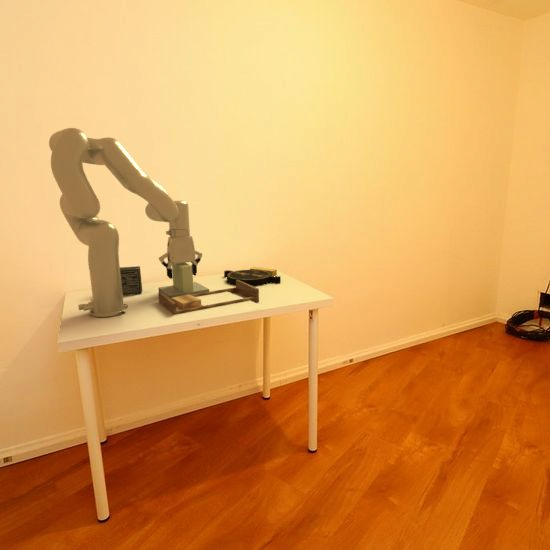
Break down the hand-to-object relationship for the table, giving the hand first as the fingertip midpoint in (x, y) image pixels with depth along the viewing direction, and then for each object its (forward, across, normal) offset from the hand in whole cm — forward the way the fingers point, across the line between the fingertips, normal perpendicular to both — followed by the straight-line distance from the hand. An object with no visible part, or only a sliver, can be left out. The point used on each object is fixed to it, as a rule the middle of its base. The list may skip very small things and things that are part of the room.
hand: (182, 276), depth 152 cm
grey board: (+7, 0, 0) cm, 7 cm away
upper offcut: (+6, -5, -17) cm, 19 cm away
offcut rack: (+7, +4, -17) cm, 19 cm away
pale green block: (+5, 0, 0) cm, 5 cm away
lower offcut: (+8, -5, -17) cm, 19 cm away
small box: (+8, -18, +15) cm, 25 cm away
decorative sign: (+8, +35, +6) cm, 37 cm away
